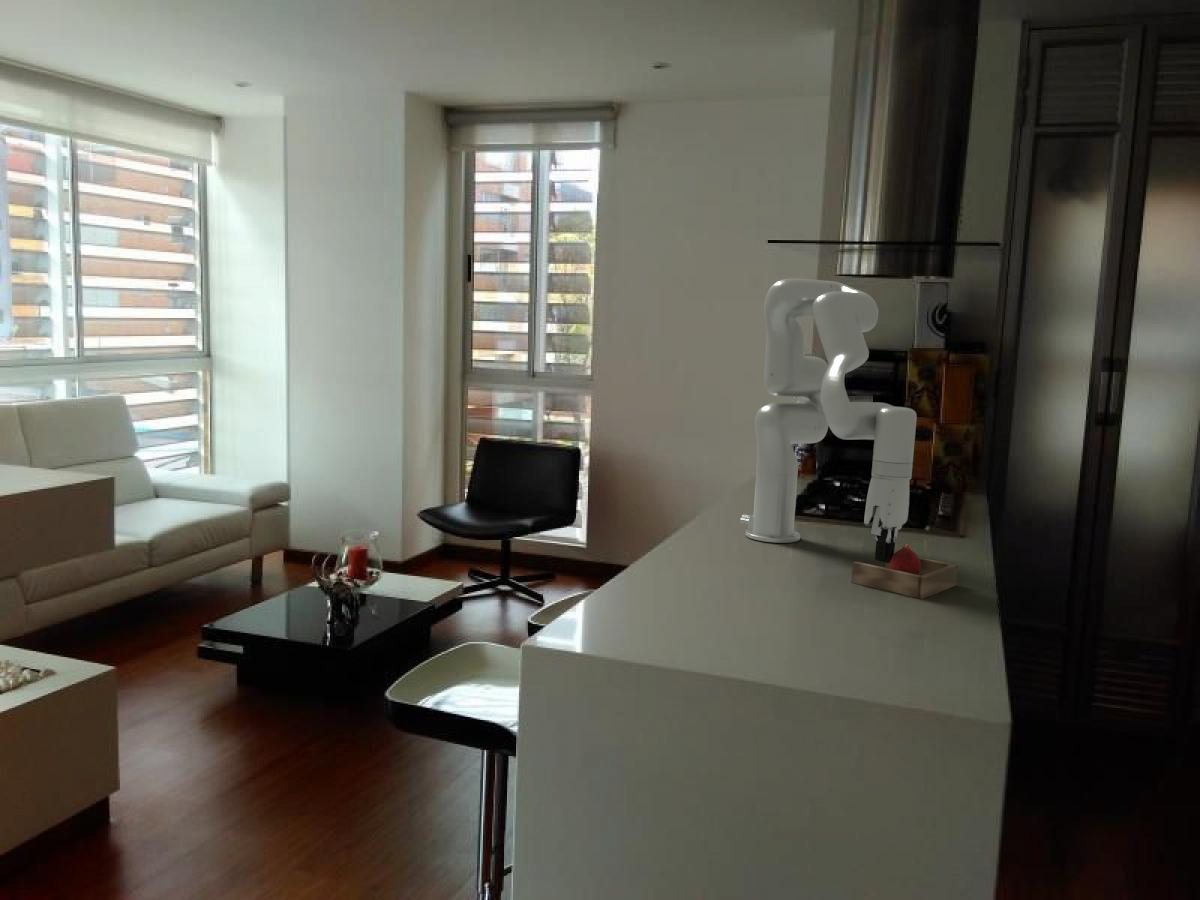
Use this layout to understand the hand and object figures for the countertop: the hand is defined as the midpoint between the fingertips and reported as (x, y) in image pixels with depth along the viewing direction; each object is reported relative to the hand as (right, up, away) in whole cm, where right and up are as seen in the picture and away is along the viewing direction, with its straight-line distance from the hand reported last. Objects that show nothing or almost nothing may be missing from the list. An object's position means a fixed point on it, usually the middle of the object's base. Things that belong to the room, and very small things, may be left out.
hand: (884, 560), depth 190 cm
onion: (+3, -4, -2) cm, 6 cm away
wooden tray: (+3, -4, -2) cm, 6 cm away
